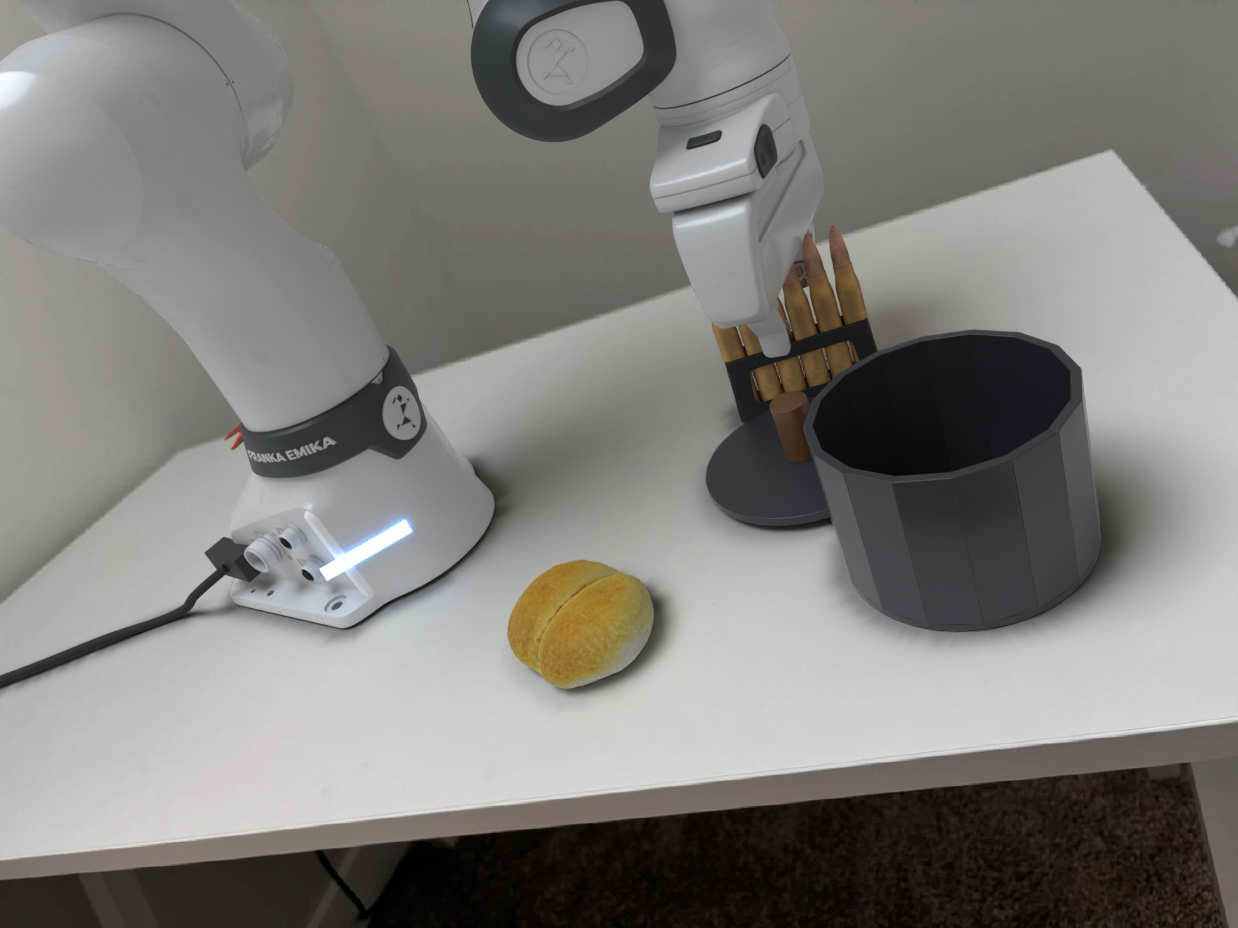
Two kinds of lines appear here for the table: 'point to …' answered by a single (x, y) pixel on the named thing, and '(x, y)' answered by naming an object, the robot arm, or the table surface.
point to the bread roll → (580, 623)
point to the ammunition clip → (802, 335)
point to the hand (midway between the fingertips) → (795, 315)
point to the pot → (960, 478)
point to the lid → (769, 468)
